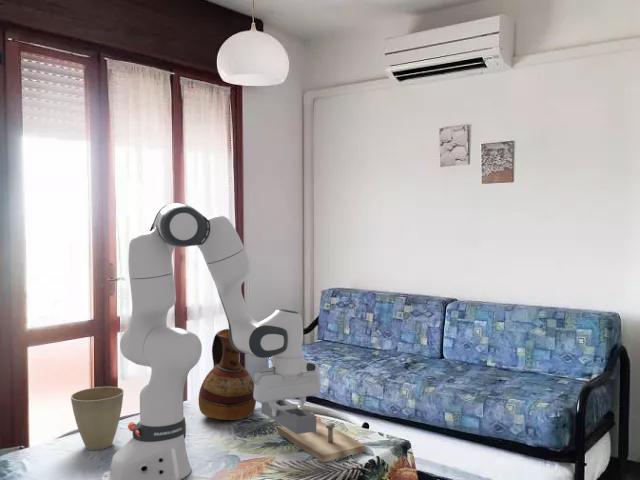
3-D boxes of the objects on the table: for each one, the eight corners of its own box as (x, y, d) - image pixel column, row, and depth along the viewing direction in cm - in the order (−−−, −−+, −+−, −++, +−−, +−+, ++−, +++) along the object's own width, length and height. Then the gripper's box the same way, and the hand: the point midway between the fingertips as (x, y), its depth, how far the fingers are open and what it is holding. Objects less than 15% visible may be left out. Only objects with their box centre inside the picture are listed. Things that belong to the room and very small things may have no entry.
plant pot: (63, 446, 177) (62, 393, 177) (111, 433, 188) (109, 384, 187) (85, 459, 167) (83, 403, 166) (134, 445, 177) (132, 392, 177)
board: (323, 462, 161) (322, 436, 160) (278, 433, 185) (277, 410, 185) (365, 452, 168) (365, 427, 167) (316, 425, 192) (316, 403, 192)
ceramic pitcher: (219, 430, 189) (217, 337, 188) (187, 416, 204) (185, 330, 203) (268, 416, 202) (266, 329, 202) (234, 404, 217) (233, 323, 216)
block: (296, 434, 157) (296, 419, 157) (261, 412, 177) (261, 399, 177) (316, 431, 160) (316, 416, 160) (279, 410, 180) (279, 397, 180)
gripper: (259, 371, 161) (258, 422, 161) (323, 364, 172) (323, 411, 171) (249, 367, 167) (249, 416, 167) (312, 360, 177) (312, 406, 177)
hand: (287, 413), depth 169 cm, fingers closed on block, 6 cm apart
